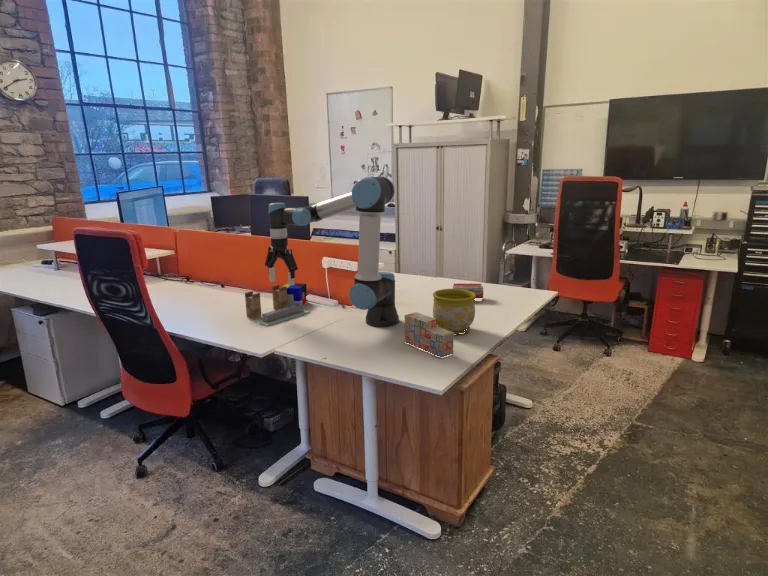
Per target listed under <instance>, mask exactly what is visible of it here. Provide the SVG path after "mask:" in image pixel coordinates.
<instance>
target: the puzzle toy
mask: <svg viewBox="0 0 768 576" xmlns="http://www.w3.org/2000/svg"><path fill="white" fill-rule="evenodd" d="M284 286H286V288H287V305H288V306H291V305H295V304H298V303H299V304H303V305H304V306H305V305H306V304H307V303H306V296H307V297H308V291H307V283H301V282H299V283H298V282H297V283H296V282H295V285H292V286H289V282H287V283H286V284H284V285H282V286H281V287H284ZM305 303H306V304H305Z"/></svg>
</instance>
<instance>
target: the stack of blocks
mask: <svg viewBox="0 0 768 576" xmlns="http://www.w3.org/2000/svg"><path fill="white" fill-rule="evenodd" d="M454 339H455V335H454V332H451V331H448V330H446V329H443V328H440V327H437V319H436V318H434V317H433V316H430V315H426V314H423V313H420V312H417V311H415V312H411V313H408V314H404V343H405V342H406V343H409V344H411V345H414V346H415V347H418V348H421V349H423V350H425V351H428V352H430V353H432V354H434V355H437V356H440V357H444V356H447V355H450V354H453V355H454Z"/></svg>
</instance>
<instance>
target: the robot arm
mask: <svg viewBox="0 0 768 576" xmlns="http://www.w3.org/2000/svg"><path fill="white" fill-rule="evenodd" d="M395 190H396V189H395V185H394V183H393V182H392V180H391V179H389V178H388V177H386V176H369V177H368V176H366V177H362V178H359V179H358V180H357V181H356V182H355V183H354V184H353V186H352V188H351V192H348V193H345V194H341V195H338V196H336V197H333V198H330V199H327V200H323V201H321V202H317V203H315V204H312V205H307V206H301V207H299V206H298V207H286V203H285V202H272V203H269V204H268V221H269V235H270V236H269V237H270V246H268V248H267V254H266V259H265V262H264V266H266V267H267V268H268V269H267V270H268V275H269V282H270V283H272V282H275V281H276V271H275V269H276V268H275V264H276V262H277V260H278V259H281V260H282V261H283V262H284V264H285V266H286V268H287V270H288V273H287V275H288V283H289V286H292V285H295V283H296V281H295V277H296V275H295V274H296V273H295V272H296V271H298V270H299V269H298V268H299V267H298V265H297V262H296V259H295V257H294V255H293V250H292V249H291V248H289V249H287V247H288V246H289V240H288V226H299V227H301V226H308V225H309V223H310V224H311V223H317V222H320V221H322V220H324V219H328V218H331V217H335V216H337V215H340V214H344V213H346V212H350V211H354V210H355V211H356V212H357V214H358V215H359V224H358V225H359V226H358V227H359V229H358V253H357V255H358V260H357V261H358V262H357V273H355V275H354V276H353V284H352V286H350V288H349V291H348V292H349V293H348V297H349V300H350V302H351V304H352V305H354V307H355V308H357V309H359V310H363V311H364V310H365V311H366V310H367V312H366V316H365V323H366V324H367V325H368V326H371V325H372V326H371V327H378V326H386V327H390V326H389V325H392V326H394V325H393V324H395V325H397V324H398V323H400V316H399V314H398V310H397V307H396V278H395V277H396V276H395V273H392V272H391V271H390V272H389V271H379V268H380V266H379V265H380V264H379V263H380V240H381V220H382V219H381V217H382V216H383V214H384V213H385V212H386V211H385V209H386V205H387V204H389V203H390V202H391V201H392V200H393V198H394V195H395ZM396 323H397V324H396Z"/></svg>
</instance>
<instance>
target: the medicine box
mask: <svg viewBox="0 0 768 576" xmlns="http://www.w3.org/2000/svg"><path fill="white" fill-rule="evenodd" d="M452 289H464V290H469V291H472V292H474V293H475V294H476V298H483V299H484V286H483V285H482V283H453V285H452Z"/></svg>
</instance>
